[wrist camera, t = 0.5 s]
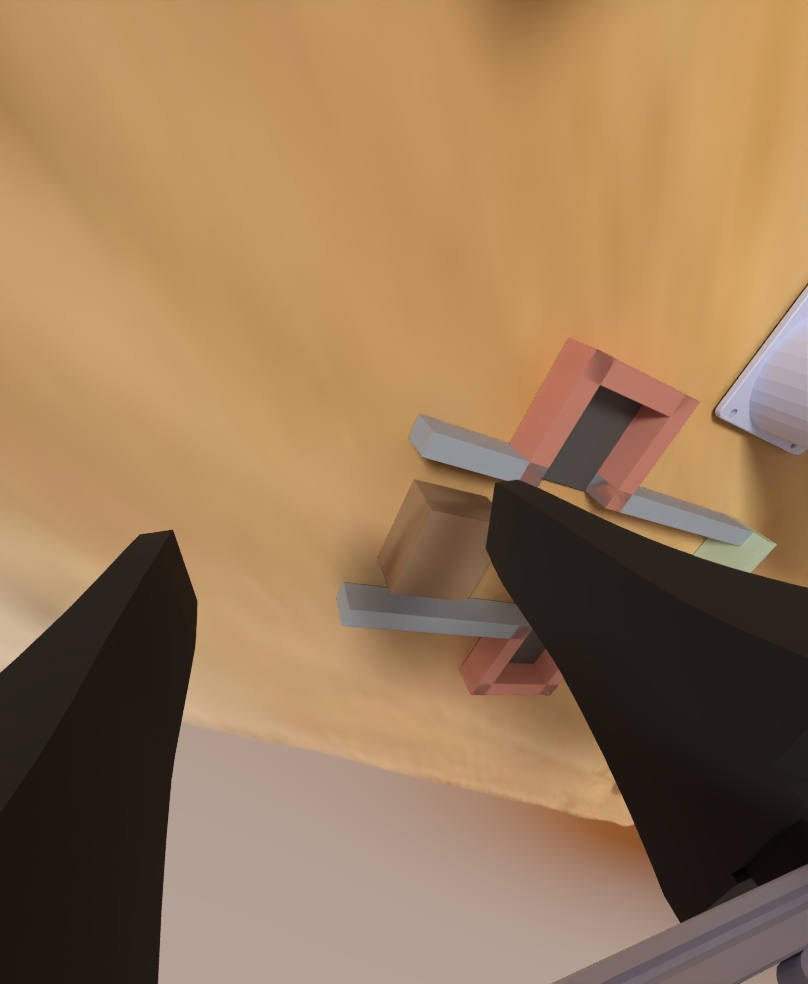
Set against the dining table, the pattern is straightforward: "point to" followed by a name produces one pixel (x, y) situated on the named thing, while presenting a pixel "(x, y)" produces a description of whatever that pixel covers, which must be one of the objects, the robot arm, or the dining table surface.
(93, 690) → the robot arm
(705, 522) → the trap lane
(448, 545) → the walnut block
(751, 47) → the dining table surface
